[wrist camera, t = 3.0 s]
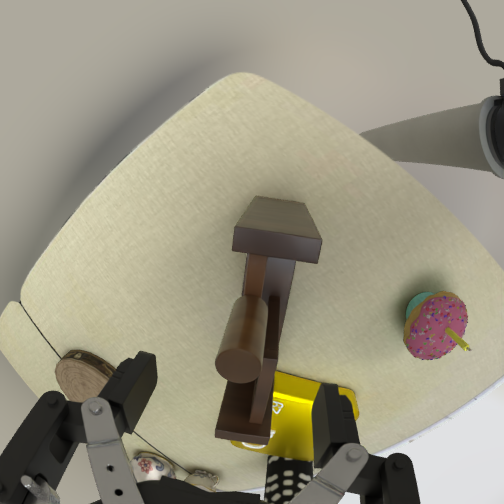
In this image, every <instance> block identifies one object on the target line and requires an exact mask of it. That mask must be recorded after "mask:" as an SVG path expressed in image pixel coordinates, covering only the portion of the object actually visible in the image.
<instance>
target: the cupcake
mask: <svg viewBox="0 0 504 504" xmlns="http://www.w3.org/2000/svg"><path fill="white" fill-rule="evenodd" d="M467 318H468V316H467V309H466V305H465V304H464V302H463V301H461V300H460V298H459V297H458V296H456V295H455V294H453V293H451V292H446V291H441V292H438V293H436V294H434V293H431V292H423V293H420V294H418V295H416V296H415V297H414V298H413V299H412V300H411V301H410V303H409V304H408V306H407V309H406V319H407V321H406V323H405V326H404V338H403V341H404V343H405V345H406V347H407V349H408V350H409V351H410V353H411V354H412V355H413V356H414V357H417V358H420V359H422V360H424V359H427V360H429V359H430V360H433V359H438V358H441V356H443V355H446V354H447V353H450V352H451V350H453V348H454V347H455V346H456V345H457V344H458V345H459V346H460V347H461V348H462V349H463V350H465V351H467V350H469V351H472V350H471V349H470V348H469V345H468V344H467V343H466V342H465V341H464V340H463V339H462V337H463V335H464V334H465V333H464V332H465V328H466V326H467V325H466V324H467V323H468V322H467V320H468V319H467Z"/></svg>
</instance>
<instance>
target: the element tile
mask: <svg viewBox="0 0 504 504" xmlns="http://www.w3.org/2000/svg"><path fill="white" fill-rule="evenodd" d="M320 385H321V383H320V382H315V381H311V380H307V379H304V378H300V377H296V376H292V375H288V374H285V373H281V372H278V371H275V375H274V391H273V406H272V421H271V434H270V440H269V443H268V445H259V444H251V443H244V442H238V441H232V440H230V441H231V443H232V445H234V446H236V447H238V448H242V449H246V450H250V451H254V452H259V453H263V454H268V455H273V456H278V457H284V458H290V459H296V460H302V461H313V460H314V451H313V433H312V418H311V411H312V405H313V402H314V400H315V397H316V395H317V392H318V390H319V387H320ZM338 389H339V395H346V396H347V397H348V398H349V400H350V401H351V403H352V407H353V412H354V416H355V418H354V419H355V421H356V420H357V419H358V417H359V409H358V405H357V401H356V396H355V394H354V392H353V391H351V390H349V389H346V388H341V387H338Z"/></svg>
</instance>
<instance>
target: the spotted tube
mask: <svg viewBox="0 0 504 504" xmlns="http://www.w3.org/2000/svg"><path fill="white" fill-rule="evenodd" d="M312 479H313V461H302V460H296V459H290V458H284V457H278V456H273V455H269V457H268V462H267V473H266V484H265V494H264V501H265V502H268V503H270V504H288V503H289V502H290V501H291V500H292V499H293V498H294V497H295V496H296V495H297V494H298V493H299V492H300V491H301V490H302V489H303V488H304V487H305V486H306V485H307V484H308V483H309V482H310V481H311V480H312Z"/></svg>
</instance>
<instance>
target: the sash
mask: <svg viewBox="0 0 504 504" xmlns="http://www.w3.org/2000/svg"><path fill="white" fill-rule="evenodd" d="M267 259H268V256H262V255H255V254H249V257H248V265H247V273H246V280H245V288H244V296H242V297H240V298H238V299H237V300H236V301H235V303H234V305H233V308H232V311H231V314H230V317H229V320H228V323H227V326H226V329H225V333H224V336H223V339H222V342H221V345H220V348H219V351H218V354H217V357H216V360H215V366H216V369H217V371H218V373H219V374H220V375H221V376H222V377H223V378H225V379H227V380H229V381H231V382H235V383H248V382H251V381H253V380H255V379H256V378H257V377H258V376H259V375H260V373H261V371H262V364H263V355H264V346H265V336H266V327H267V317H268V307H267V305H266V303H265V302H264V301H263V300H262V299H261V297H262V291H263V285H264V278H265V272H266V266H267Z"/></svg>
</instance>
